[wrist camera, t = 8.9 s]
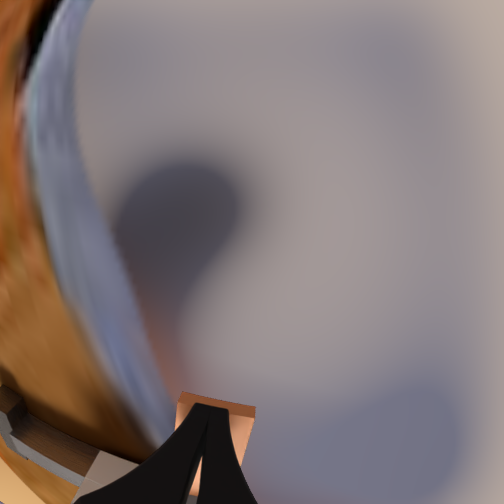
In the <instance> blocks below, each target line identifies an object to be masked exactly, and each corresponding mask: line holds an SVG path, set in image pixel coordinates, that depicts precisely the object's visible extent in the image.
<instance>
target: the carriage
mask: <svg viewBox="0 0 504 504" xmlns="http://www.w3.org/2000/svg"><path fill="white" fill-rule="evenodd" d="M137 466H138V464H135V463H132V462H130V461H127V460H124V459H121V458H119V457H116V456H113V455H111V454H108V453H106V452H103V451H101V450H100V452H99V454H98V455H97V457H96V459H95V460H94V462H93V464H92V466H91V467H90V469H89V471H88V473H87V474H86V476H85V479H84V481H83V483H82V484H81V486H80V488H79V490H78V491H77V493H76V495H75V497H74V499H73V500H72V502H71V504H73V503H74V502H75V501H76V500H77V499H78V498H79V497H80V496H83V495H85V494H88V493H90V492H93V491H95V490H97V489H100V488H102V487H104V486H106V485H108V484H110V483H112V482H113V481H115V480H117V479H119V478H121V477H122V476H124V475H125V474H127V473H129V472H130V471H131V470H133V469H134V468H136V467H137Z"/></svg>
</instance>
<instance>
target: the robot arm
mask: <svg viewBox="0 0 504 504" xmlns="http://www.w3.org/2000/svg"><path fill="white" fill-rule="evenodd" d="M201 458H202V463H201V472H200V483H199V493H198V497H197V502H196V504H258V503H257V502H256V500H255V498H254V496H253V494H252V492H251V491H250V489H249V486H248V484H247V482H246V480H245V478H244V475H243V473H242V471H241V468H240V465H239V462H238V459H237V456H236V452H235V449H234V445H233V441H232V436H231V430H230V422H229V411H228V409H226V408H221V407H216V406H211V405H206V404H202V403H197V402H196V403H195V404H194V405H193V406H192V408H191V410H190V411H189V413H188V415H187V416H186V417H185V419H184V420H183V422H182V423H181V424H180V426H179V427H178V428H177V429H176V430H175V432H174V433H173V434H172V435H171V436H170V437H169V438H168V440H167V441H166V442H165V443H164V444H163V445H162V446H161V447H160V448H159V449H158V450H157V451H155V452H154V453H153V454H152V455H151V456H150V457H149V458H147V459H146V460H145V461H144V462H142V463H141V464H140V465H138V466H137V467H136V468H134V469H133V470H131V471H130V472H129V473H127V474H125V475H124V476H122V477H121V478H119V479H117V480H115V481H113V482H112V483H110V484H108V485H106V486H104V487H102V488H100V489H97V490H95V491H93V492H90V493H88V494H85V495H83V496H80V497H79V498H78V499H77V500H76V501H75V502H74V503H73V504H186V503H187V499H188V496H189V493H190V490H191V487H192V484H193V481H194V478H195V476H196V473H197V470H198V467H199V464H200V461H201ZM0 504H3V503H2V502H1V501H0Z"/></svg>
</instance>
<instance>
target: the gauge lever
mask: <svg viewBox="0 0 504 504" xmlns="http://www.w3.org/2000/svg"><path fill="white" fill-rule="evenodd" d="M196 402H197V403H202V404H206V405H211V406H216V407H221V408H226V409H228V411H229V422H230V430H231V436H232V441H233V445H234V449H235V452H236V456H237V459H238V462H239V465H240V467H241V463H242V460H243V457H244V454H245V450H246V447H247V444H248V440H249V437H250V434H251V430H252V427H253V424H254V420H255V407H254V406H247V405H242V404H236V403H232V402H226V401H222V400H217V399H212V398H208V397H203V396H199V395H195V394H191V393H187V392H182V393H181V396H180V398H179V400H178V403H177V413H176V423H175V430H176V429H177V428H178V427H179V426H180V424H181V423H182V422H183V420H184V419H185V417H186V416H187V415H188V413H189V411H190V410H191V408H192V406H193V405H194V404H195V403H196ZM201 463H202V458H201V461H200V464H199V467H198V470H197V473H196V476H195V478H194V481H193V484H192V487H191V490H190V493H189V496H188V499H187V503H186V504H196V502H197V497H198V493H199V483H200V472H201Z"/></svg>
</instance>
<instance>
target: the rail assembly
mask: <svg viewBox="0 0 504 504" xmlns="http://www.w3.org/2000/svg"><path fill="white" fill-rule="evenodd" d="M0 433H1V435H2V437H3V439H4V441H5V443H6V445H7V447H9V448H10V449H11V450H13V451H14V452H16V453H17V454H19V455H20V456H22V457H23V458H25V459H26V460H28V459H30V460H32V461H33V462H35V463H36V464H38V465H40V466H41V467H43V468H45V469H46V470H48V471H50V472H52V473H53V474H55V475H57V476H59V477H61V478H63V479H65V480H66V481H68V482H70V483H72V484H74V485H76V486H78V487H80V486H81V484H82V483H83V481H84V479H85V476H86V474H87V473H88V471H89V469H90V467H91V466H92V464H93V462H94V460H95V459H96V457H97V455H98V454H99V452H100V449H97V448H95V447H93V446H90V445H88V444H86V443H84V442H82V441H79V440H77V439H75V438H73V437H71V436H69V435H67V434H65V433H63V432H61V431H59V430H57V429H55V428H54V427H52V426H50V425H48V424H46V423H44V422H43V421H41V420H39V419H37V418H36V417H34V416H32V415H31V414H29V413H28V411H27V408H26V405H25V402H24V399H23V397H22V396H20V395H18V394H17V393H15V392H14V391H12V390H11V389H9V388H8V387H6V386H5V385H1V386H0ZM101 451H102V450H101ZM103 452H104V451H103ZM106 453H107V452H106ZM108 454H109V453H108ZM111 455H112V454H111ZM113 456H115V455H113ZM116 457H117V456H116ZM119 458H120V457H119ZM121 459H122V458H121ZM124 460H125V459H124ZM127 461H128V460H127ZM130 462H131V461H130ZM132 463H134V462H132ZM135 464H137V463H135ZM138 465H139V464H138Z"/></svg>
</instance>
